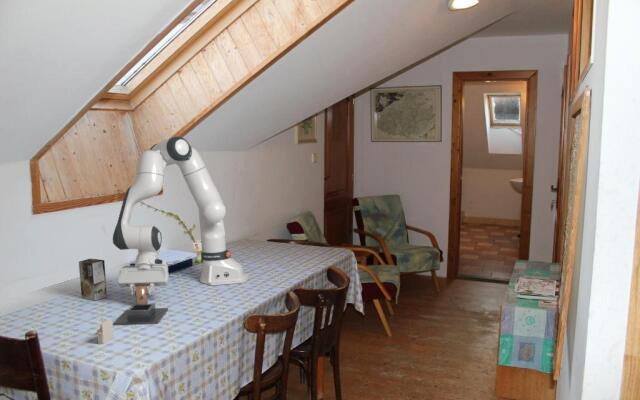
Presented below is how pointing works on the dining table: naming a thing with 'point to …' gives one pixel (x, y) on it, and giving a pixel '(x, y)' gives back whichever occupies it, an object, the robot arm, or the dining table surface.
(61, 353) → the dining table surface
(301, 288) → the dining table surface
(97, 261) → the coffee box
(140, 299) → the copper pipe stub
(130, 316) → the duct collar
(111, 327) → the architectural model
